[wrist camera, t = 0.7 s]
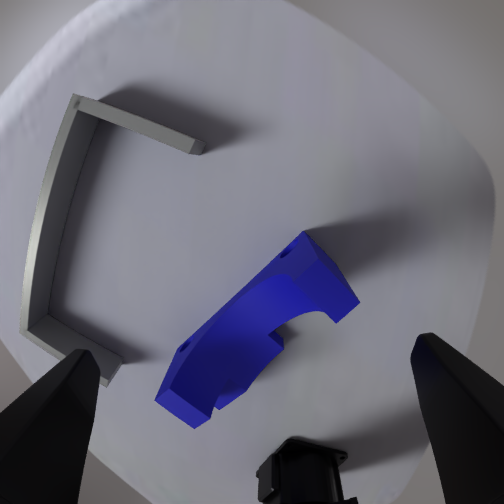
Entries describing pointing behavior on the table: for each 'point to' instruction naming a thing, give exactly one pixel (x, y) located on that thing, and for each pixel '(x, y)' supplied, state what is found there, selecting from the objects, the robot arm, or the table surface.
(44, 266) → the grey u-shaped bracket
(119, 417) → the table surface
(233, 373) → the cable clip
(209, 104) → the table surface
